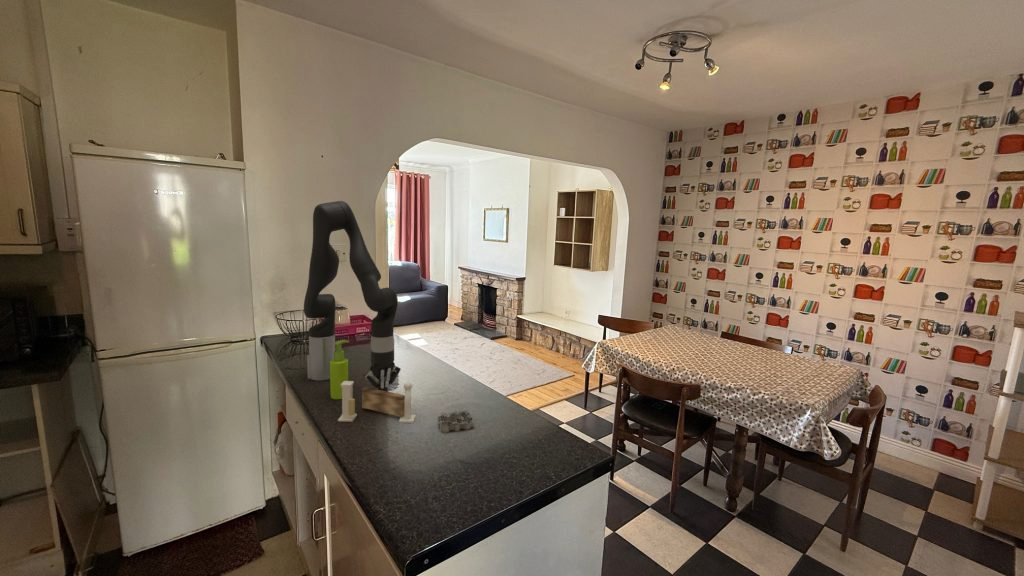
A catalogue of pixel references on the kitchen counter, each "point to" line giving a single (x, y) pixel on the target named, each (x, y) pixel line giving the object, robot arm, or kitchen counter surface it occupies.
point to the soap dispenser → (338, 371)
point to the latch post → (347, 402)
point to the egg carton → (459, 423)
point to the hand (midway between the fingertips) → (382, 397)
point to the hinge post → (407, 405)
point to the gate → (383, 401)
